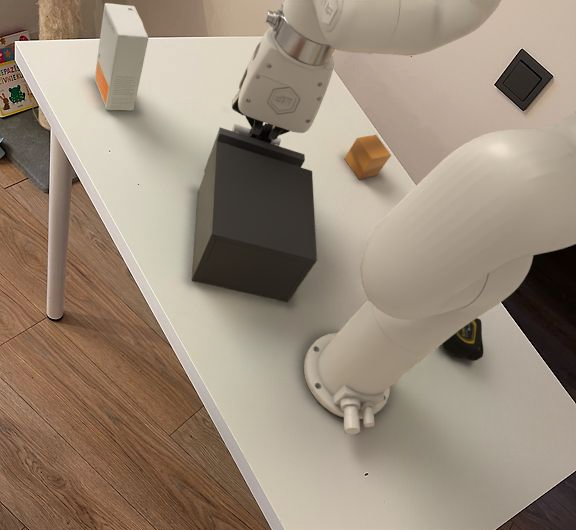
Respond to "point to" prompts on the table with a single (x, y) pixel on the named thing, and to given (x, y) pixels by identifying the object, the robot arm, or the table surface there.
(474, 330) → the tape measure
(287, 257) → the drawer cabinet
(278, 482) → the table surface
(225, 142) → the dark grey box
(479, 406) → the table surface
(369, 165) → the block
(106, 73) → the cosmetic box
